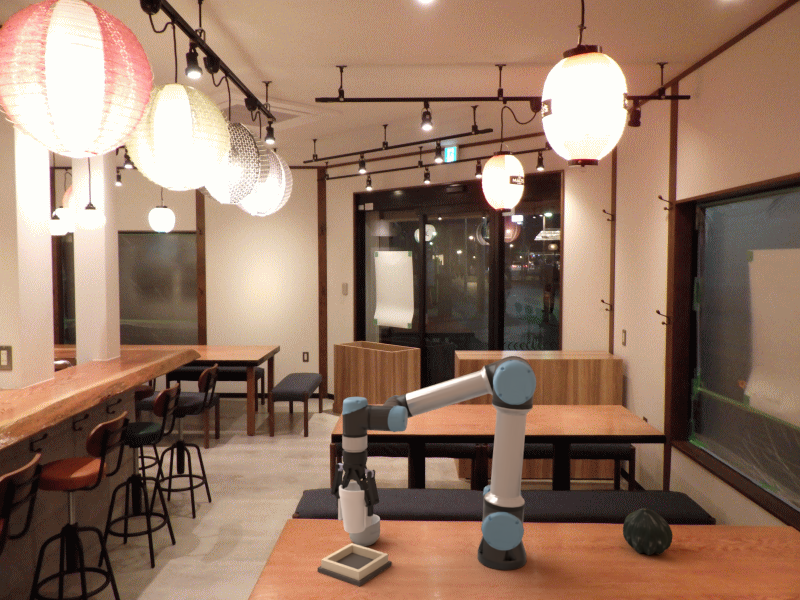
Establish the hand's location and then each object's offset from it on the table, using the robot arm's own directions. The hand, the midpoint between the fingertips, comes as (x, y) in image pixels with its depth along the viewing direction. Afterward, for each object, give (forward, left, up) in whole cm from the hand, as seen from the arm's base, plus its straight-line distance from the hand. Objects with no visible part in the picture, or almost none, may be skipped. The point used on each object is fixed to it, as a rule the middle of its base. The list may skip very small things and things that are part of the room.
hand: (354, 522), depth 189 cm
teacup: (+10, -18, -14) cm, 25 cm away
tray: (0, 0, -14) cm, 14 cm away
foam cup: (0, 0, -2) cm, 2 cm away
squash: (-70, -64, -14) cm, 96 cm away
